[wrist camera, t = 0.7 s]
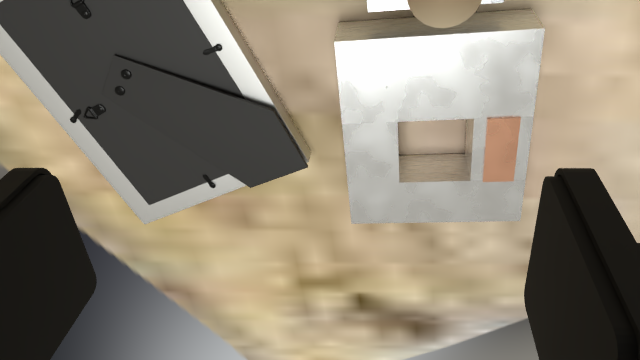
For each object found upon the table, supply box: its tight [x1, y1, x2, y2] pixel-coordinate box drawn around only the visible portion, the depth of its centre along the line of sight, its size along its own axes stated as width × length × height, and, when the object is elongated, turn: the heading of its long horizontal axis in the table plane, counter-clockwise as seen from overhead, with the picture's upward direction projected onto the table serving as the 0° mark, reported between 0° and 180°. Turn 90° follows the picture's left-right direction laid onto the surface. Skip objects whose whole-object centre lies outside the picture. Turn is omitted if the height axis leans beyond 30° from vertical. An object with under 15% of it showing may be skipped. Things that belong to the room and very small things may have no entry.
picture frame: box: [0, 0, 311, 224], centre depth 39 cm, size 16×3×21 cm
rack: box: [334, 0, 545, 224], centre depth 35 cm, size 21×12×4 cm, turn 6°
